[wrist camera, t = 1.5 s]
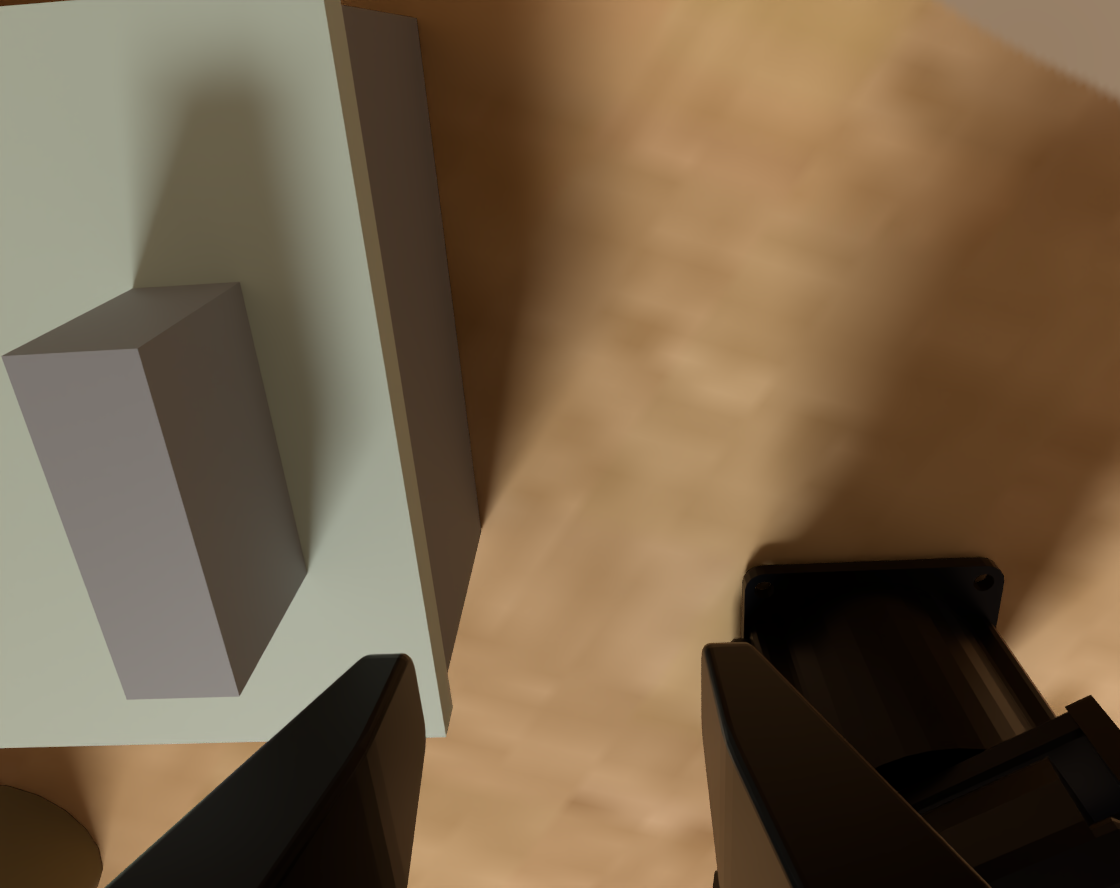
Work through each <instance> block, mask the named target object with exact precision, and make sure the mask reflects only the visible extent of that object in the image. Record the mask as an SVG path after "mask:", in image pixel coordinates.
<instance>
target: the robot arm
mask: <svg viewBox="0 0 1120 888" xmlns="http://www.w3.org/2000/svg"><path fill="white" fill-rule="evenodd" d="M983 574H987V576H986V578H985V579H983V580H982V581H979V582H974V581H975V579H976V578H977V577H978V576H980V575H983ZM762 582H768V583H771V584H770V586H769V587H768V588H766V589H762V590H760V589H756V588H755V587H756V586H757V585H758V584H759V583H762ZM1003 586H1004V575H1003V574H1002V572H1001V571H1000V569H999V568H998V567H997V565H996V564H995V563H994V562H993V561H992V560H990V559H988V558H982V557H974V558H947V559H920V560H894V561H867V562H840V563H813V564H786V565H762V566H757V567H754V568H752V569H750V570H749V571H748V572H747V573H746V574H745V575H744V578H743V582H742V615H741V638H736V639H733V640H732V641H731V642H727V643H708V644H706V645H705V646H704V648H703V650H702V658H701V718H702V736H703V746H704V755H705V764H706V773H707V782H708V790H709V799H710V808H711V817H712V826H713V834H714V843H715V852H716V861H717V871H715V874H714V882H713V888H1120V729H1119V728H1118V727H1117V726H1116V725H1115V723H1114V722H1113V721H1112V720H1111V718H1110V717H1109V716H1108V715H1107V714H1106V712H1105V711H1104V710H1103V709H1102V708H1101V706H1100V705H1099V704H1098V703H1097V702H1096V700H1095V699H1094V698H1093V697H1092V696H1091V695H1089V696H1087V697H1085V698H1083V699H1080V700H1078V701H1076V702H1074V703H1072V704H1070V705H1068V706H1066V707H1065V708H1066V710H1067V711H1068V712H1066V713H1064V714H1062V715H1060V716H1056V715H1055V714H1054V712H1053V711H1052V709H1051V708H1050V706H1049V705H1048V703H1047V702H1046V700H1045V699H1044V698H1043V696H1042V695H1041V693H1040V692H1039V690H1038V689H1037V687H1036V686H1035V685H1034V683H1033V682H1032V680H1031V679H1030V677H1029V676H1028V674H1027V673H1026V672H1025V670H1024V669H1023V667H1022V666H1021V664H1020V663H1019V661H1018V660H1017V658H1016V657H1015V656H1014V654H1013V653H1012V651H1011V650H1010V648H1009V647H1008V645H1007V644H1006V643H1005V641H1004V640H1003V638H1002V637H1001V635H1000V634H999V632H998V631H997V630H996V624H997V619H998V613H999V608H1000V602H1001V597H1002V591H1003ZM425 744H426V730H425V721H424V715H423V710H422V704H421V699H420V693H419V687H418V682H417V676H416V671H415V666H414V663H413V661H412V659H411V657H409V656H408V655H407V654H404V653H393V654H370V655H366V656H364V657H362V658H361V659H359V660H358V661H357V662H356V663H355V664H354V665H352V666H351V667H350V668H349V669H348V670H347V671H346V672H345V673H344V674H342V675H341V676H340V677H339V678H338V679H337V680H336V681H335V682H334V683H332V684H331V685H330V686H329V687H328V688H327V689H326V690H325V691H323V692H322V693H321V694H320V695H319V696H318V697H317V698H316V699H315V700H313V701H312V702H311V703H310V704H309V705H308V706H307V707H306V708H305V709H303V710H302V711H301V712H300V713H299V714H298V715H297V716H296V717H294V718H293V719H292V720H291V721H290V722H289V723H288V724H287V725H286V726H284V727H283V728H282V729H281V730H280V731H279V732H278V733H277V734H275V735H274V736H273V737H272V738H271V739H270V740H269V741H268V742H267V743H265V744H264V745H263V746H262V747H261V748H260V749H259V750H258V751H257V752H255V753H254V754H253V755H252V756H251V757H250V758H249V759H248V760H246V761H245V762H244V763H243V764H242V765H241V766H240V767H239V768H238V769H236V770H235V771H234V772H233V773H232V774H231V775H230V776H229V777H227V778H226V779H225V780H224V781H223V782H222V783H221V784H220V785H219V786H217V787H216V788H215V789H214V790H213V791H212V792H211V793H210V794H209V795H207V796H206V797H205V798H204V799H203V800H202V801H201V802H200V803H198V804H197V805H196V806H195V807H194V808H193V809H192V810H191V811H190V812H188V813H187V814H186V815H185V816H184V817H183V818H182V819H181V820H180V821H178V822H177V823H176V824H175V825H174V826H173V827H172V828H171V829H169V830H168V831H167V832H166V833H165V834H164V835H163V836H162V837H161V838H159V839H158V840H157V841H156V842H155V843H154V844H153V845H152V846H150V847H149V848H148V849H147V850H146V851H145V852H144V853H143V854H142V855H140V856H139V857H138V858H137V859H136V860H135V861H134V862H133V863H132V864H130V865H129V866H128V867H127V868H126V869H125V870H124V871H123V872H121V873H120V874H119V875H118V876H117V877H116V878H115V879H114V880H113V881H111V882H110V883H109V884H108V885H107V886H106V887H105V888H407V885H408V877H409V869H410V862H411V854H412V846H413V839H414V831H415V824H416V816H417V808H418V801H419V793H420V785H421V778H422V770H423V763H424V755H425Z"/></svg>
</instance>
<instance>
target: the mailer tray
mask: <svg viewBox="0 0 1120 888" xmlns="http://www.w3.org/2000/svg"><path fill="white" fill-rule="evenodd" d="M341 6H342V12H343V18H344V25H345V31H346V37H347V44H348V50H349V56H350V63H351V69H352V75H353V81H354V88H355V94H356V100H357V107H358V113H359V119H360V126H361V132H362V138H363V144H364V151H365V157H366V163H367V170H368V176H369V182H370V189H371V195H372V201H373V207H374V214H375V220H376V226H377V233H378V239H379V245H380V252H381V258H382V264H383V271H384V277H385V283H386V289H387V296H388V302H389V308H390V315H391V321H392V327H393V334H394V340H395V346H396V352H397V359H398V365H399V371H400V378H401V384H402V390H403V397H404V403H405V409H406V416H407V422H408V428H409V434H410V441H411V447H412V453H413V460H414V466H415V472H416V479H417V485H418V491H419V497H420V504H421V510H422V516H423V523H424V529H425V535H426V542H427V548H428V554H429V560H430V567H431V573H432V579H433V586H434V592H435V598H436V605H437V611H438V617H439V624H440V630H441V636H442V642H443V649H444V655H445V661H446V668H447V673H448V669H449V664H450V660H451V656H452V652H453V648H454V643H455V639H456V635H457V631H458V627H459V622H460V618H461V614H462V610H463V606H464V601H465V597H466V593H467V589H468V585H469V580H470V576H471V572H472V568H473V564H474V559H475V555H476V551H477V547H478V543H479V538H480V534H481V525H480V517H479V509H478V501H477V493H476V486H475V478H474V470H473V462H472V454H471V446H470V438H469V430H468V422H467V414H466V406H465V398H464V390H463V382H462V375H461V367H460V359H459V351H458V343H457V335H456V327H455V319H454V311H453V303H452V295H451V287H450V279H449V272H448V264H447V256H446V248H445V240H444V232H443V224H442V216H441V208H440V200H439V192H438V184H437V176H436V168H435V161H434V153H433V145H432V137H431V129H430V121H429V113H428V105H427V97H426V89H425V81H424V73H423V65H422V57H421V50H420V42H419V34H418V26H417V18H413V17H408V16H402V15H396V14H391V13H385V12H379V11H374V10H368V9H362V8H356V7H351V6H345V5H341Z"/></svg>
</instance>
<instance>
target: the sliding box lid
mask: <svg viewBox="0 0 1120 888" xmlns="http://www.w3.org/2000/svg"><path fill="white" fill-rule="evenodd" d="M393 653H404V654H407V655H408V656H409V657H411V659H412V661H413V663H414V666H415V671H416V676H417V682H418V687H419V693H420V699H421V704H422V710H423V715H424V721H425V730H426V738H428V737H446V735H447V731H448V726H449V721H450V717H451V712H452V708H453V705H452V699H451V693H450V687H449V680H448V674H447V668H446V661H445V655H444V649H443V642H442V636H441V630H440V624H439V617H438V611H437V605H436V598H435V592H434V586H433V579H432V573H431V567H430V560H429V554H428V548H427V542H426V535H425V529H424V523H423V516H422V510H421V504H420V497H419V491H418V485H417V479H416V472H415V466H414V460H413V453H412V447H411V441H410V434H409V428H408V422H407V416H406V409H405V403H404V397H403V390H402V384H401V378H400V371H399V365H398V359H397V352H396V346H395V340H394V334H393V327H392V321H391V315H390V308H389V302H388V296H387V289H386V283H385V277H384V271H383V264H382V258H381V252H380V245H379V239H378V233H377V226H376V220H375V214H374V207H373V201H372V195H371V189H370V182H369V176H368V170H367V163H366V157H365V151H364V144H363V138H362V132H361V126H360V119H359V113H358V107H357V100H356V94H355V88H354V81H353V75H352V69H351V63H350V56H349V50H348V44H347V37H346V31H345V25H344V18H343V12H342V6H341V0H71V1H59V2H47V3H35V4H23V5H11V6H0V748H25V747H65V746H106V745H146V744H186V743H227V742H267V741H269V740H270V739H271V738H272V737H273V736H274V735H275V734H277V733H278V732H279V731H280V730H281V729H282V728H283V727H284V726H286V725H287V724H288V723H289V722H290V721H291V720H292V719H293V718H294V717H296V716H297V715H298V714H299V713H300V712H301V711H302V710H303V709H305V708H306V707H307V706H308V705H309V704H310V703H311V702H312V701H313V700H315V699H316V698H317V697H318V696H319V695H320V694H321V693H322V692H323V691H325V690H326V689H327V688H328V687H329V686H330V685H331V684H332V683H334V682H335V681H336V680H337V679H338V678H339V677H340V676H341V675H342V674H344V673H345V672H346V671H347V670H348V669H349V668H350V667H351V666H352V665H354V664H355V663H356V662H357V661H358V660H359V659H361V658H362V657H364V656H366V655H370V654H393Z"/></svg>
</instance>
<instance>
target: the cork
mask: <svg viewBox="0 0 1120 888" xmlns="http://www.w3.org/2000/svg"><path fill="white" fill-rule="evenodd" d="M102 870H103V869H102V863H101V858H100V853H99V849H98V847H97V846H96V844H95V843H94V841H93V840H92V838H91V836H90V835H89V833H88V832H87V830H86V829H85V828H84V827H83V826H82V825H81V824H80V823H78V822H77V821H76V820H75V819H74V818H73V817H72V816H71V815H70V814H68V813H67V812H66V811H65V810H63V809H61V808H60V807H58V806H56V805H54V804H52V803H51V802H49V801H47V800H45V799H44V798H42V797H40V796H38V795H35V794H32V793H28V792H25V791H22V790H19V789H16V788H13V787H10V786H2V785H0V888H97V887H98V883H99V880H100V877H101V873H102Z"/></svg>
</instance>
